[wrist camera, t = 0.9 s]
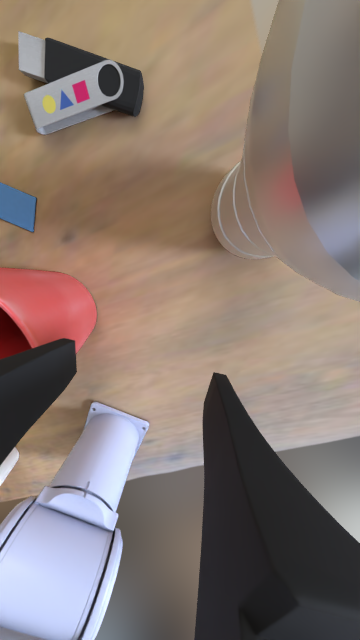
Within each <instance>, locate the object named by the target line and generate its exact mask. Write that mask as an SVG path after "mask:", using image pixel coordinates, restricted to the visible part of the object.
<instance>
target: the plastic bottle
mask: <svg viewBox="0 0 360 640" xmlns="http://www.w3.org/2000/svg"><path fill="white" fill-rule="evenodd" d="M211 223H212V227H213V231H214V233H215V235H216V237H217V239H218V241H219V242H220V243H221V245H222V246H223V247H224V248H225V249H226V250H228V251H229V252H230V253H232V254H234V255H236V256H238V257H241V258H244V259H264V258H269V257H273V256H275V257H277V258H278V259H280V260H281V261H282V262H284V263H285V264H286V265H287V266H289V267H290V268H292V269H293V270H294V271H295V272H297V273H298V274H300V275H302V276H304V277H305V278H307V279H309V280H311V281H312V282H314V283H316V284H318V285H320V286H322V287H324V288H326V289H328V290H330V291H332V292H333V293H335V294H337V295H340V296H343V297H346V298H349V299H353V300H356V301H359V302H360V0H279V2H278V5H277V9H276V12H275V15H274V18H273V21H272V25H271V28H270V32H269V34H268V37H267V41H266V44H265V47H264V50H263V54H262V57H261V60H260V64H259V69H258V73H257V77H256V81H255V85H254V88H253V92H252V96H251V100H250V107H249V113H248V119H247V126H246V132H245V139H244V149H243V156H242V159H241V161H240V162H238V163H237V164H236V165H235V166H234V167H233V168H232V169H231V170H230V171H229V172H228V173H227V174H226V175H225V177H224V178H223V179H222V181H221V182H220V183H219V185H218V187H217V189H216V191H215V194H214V197H213V200H212V206H211Z"/></svg>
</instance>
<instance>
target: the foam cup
mask: <svg viewBox="0 0 360 640" xmlns="http://www.w3.org/2000/svg"><path fill="white" fill-rule="evenodd" d="M18 459H19V452H18V450H17V448H16V447H14V448H13V450H12V451H11V452H10V454H9V455H8V456H7V458H6V459H5V460H4V462H3V463H2V464H1V466H0V486H1V484H2V483H3V481H4V480H5V478H6V477H7V475H8V474H9V473H10V471H11V470H12V468H13V467H14V465H15V464H16V462H17V460H18Z"/></svg>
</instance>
